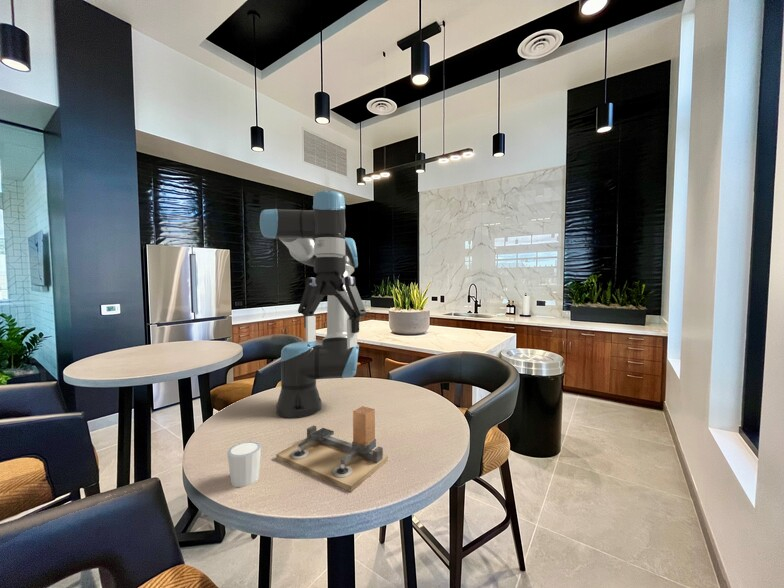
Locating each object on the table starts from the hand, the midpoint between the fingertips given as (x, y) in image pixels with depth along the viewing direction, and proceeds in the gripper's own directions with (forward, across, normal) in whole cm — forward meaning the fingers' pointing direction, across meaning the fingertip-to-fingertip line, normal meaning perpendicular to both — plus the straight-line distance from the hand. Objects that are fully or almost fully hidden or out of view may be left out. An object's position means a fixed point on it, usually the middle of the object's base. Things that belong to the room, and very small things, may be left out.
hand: (330, 344), depth 78 cm
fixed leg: (+27, -7, +1) cm, 28 cm away
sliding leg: (+27, +7, +1) cm, 28 cm away
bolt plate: (+29, 0, 0) cm, 29 cm away
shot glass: (+29, -11, -16) cm, 35 cm away
